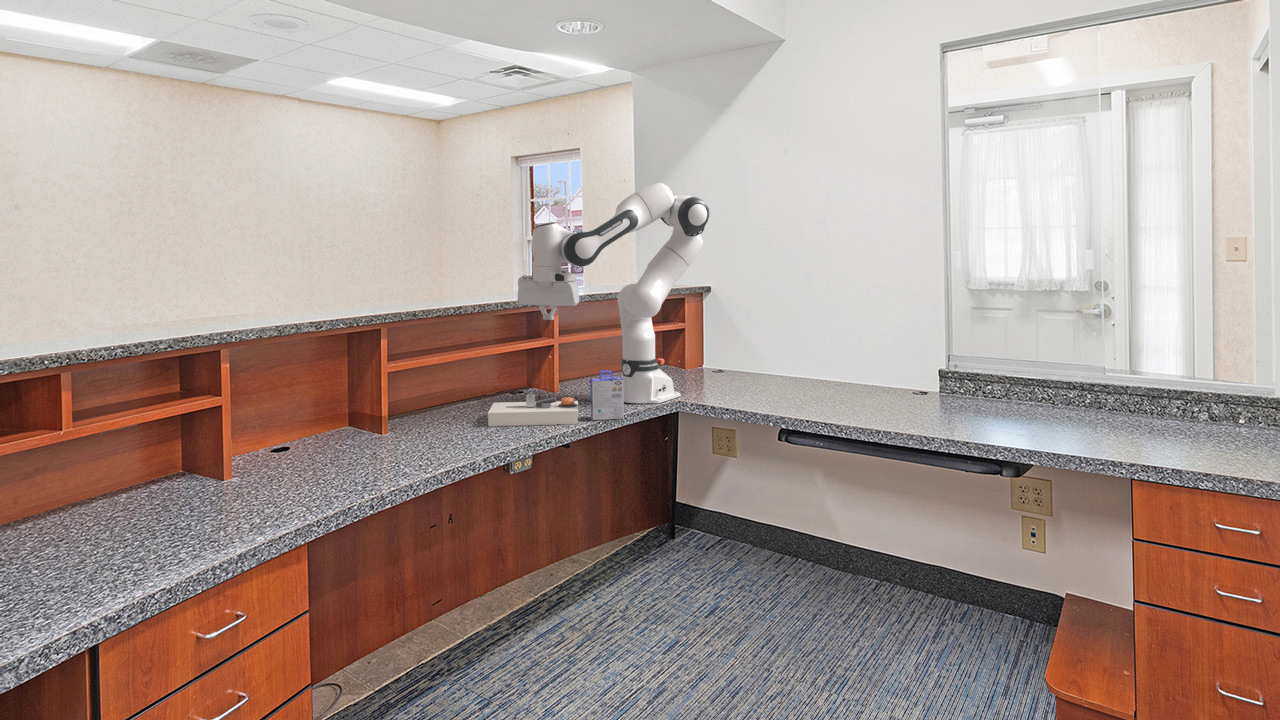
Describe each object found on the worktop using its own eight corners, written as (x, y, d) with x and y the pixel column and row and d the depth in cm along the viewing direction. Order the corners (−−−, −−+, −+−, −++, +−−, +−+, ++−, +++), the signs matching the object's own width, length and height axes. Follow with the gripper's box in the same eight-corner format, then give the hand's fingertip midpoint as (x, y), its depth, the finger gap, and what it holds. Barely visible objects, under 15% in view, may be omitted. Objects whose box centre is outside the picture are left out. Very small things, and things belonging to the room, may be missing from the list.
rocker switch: (556, 399, 220) (555, 396, 220) (555, 402, 216) (555, 398, 216) (537, 404, 219) (536, 400, 219) (536, 406, 216) (535, 403, 216)
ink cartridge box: (621, 414, 224) (621, 368, 221) (625, 419, 218) (624, 372, 216) (589, 416, 222) (589, 370, 219) (592, 420, 216) (591, 373, 214)
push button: (574, 402, 220) (574, 397, 220) (574, 405, 217) (574, 400, 216) (561, 402, 220) (561, 397, 220) (560, 405, 216) (560, 400, 216)
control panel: (578, 413, 226) (577, 396, 225) (577, 424, 212) (577, 405, 212) (494, 415, 224) (493, 397, 223) (488, 426, 211) (487, 407, 210)
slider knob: (535, 404, 219) (534, 393, 219) (534, 406, 216) (534, 395, 215) (527, 404, 219) (527, 393, 219) (526, 406, 216) (526, 395, 215)
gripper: (512, 275, 226) (514, 319, 228) (572, 276, 218) (573, 321, 221) (522, 274, 231) (524, 317, 234) (580, 275, 224) (581, 319, 226)
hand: (548, 319), depth 227 cm, fingers closed
